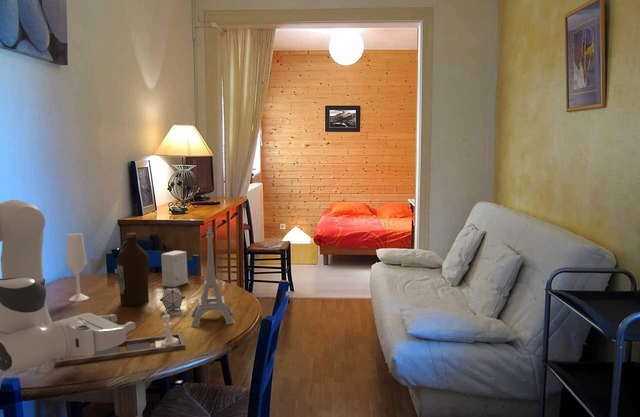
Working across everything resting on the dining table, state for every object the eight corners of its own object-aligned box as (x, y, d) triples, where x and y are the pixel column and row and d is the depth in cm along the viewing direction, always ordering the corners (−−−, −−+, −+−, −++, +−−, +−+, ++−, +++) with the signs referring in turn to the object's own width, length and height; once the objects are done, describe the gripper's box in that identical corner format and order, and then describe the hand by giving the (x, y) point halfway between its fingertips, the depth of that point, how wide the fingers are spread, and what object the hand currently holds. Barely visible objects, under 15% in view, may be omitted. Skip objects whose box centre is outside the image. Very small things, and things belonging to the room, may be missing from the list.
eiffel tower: (191, 314, 174) (188, 224, 171) (231, 311, 177) (229, 223, 174) (190, 327, 161) (187, 231, 158) (234, 324, 164) (231, 229, 161)
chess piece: (177, 338, 150) (172, 305, 148) (180, 344, 145) (175, 309, 144) (159, 343, 148) (154, 309, 146) (162, 348, 143) (157, 313, 142)
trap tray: (55, 366, 133) (55, 362, 133) (59, 351, 142) (59, 348, 142) (185, 348, 144) (185, 344, 144) (181, 336, 153) (181, 333, 153)
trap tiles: (94, 358, 137) (94, 357, 137) (95, 349, 144) (95, 348, 144) (150, 351, 142) (150, 350, 142) (149, 342, 149) (149, 341, 149)
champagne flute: (88, 300, 191) (84, 234, 188) (68, 302, 188) (63, 236, 186) (89, 295, 197) (85, 232, 194) (69, 297, 195) (65, 233, 192)
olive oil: (147, 297, 194) (144, 230, 192) (152, 304, 185) (149, 234, 182) (117, 301, 189) (113, 232, 187) (121, 308, 180) (117, 236, 177)
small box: (176, 281, 217) (175, 250, 216) (188, 282, 214) (187, 251, 213) (162, 285, 210) (160, 253, 209) (174, 287, 207) (172, 255, 206)
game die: (176, 321, 177) (176, 304, 171) (154, 312, 179) (153, 294, 172) (190, 303, 184) (190, 285, 177) (169, 293, 185) (168, 275, 179)
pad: (156, 350, 143) (156, 349, 143) (154, 341, 149) (154, 340, 149) (179, 347, 145) (179, 346, 145) (176, 338, 151) (176, 338, 151)
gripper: (54, 338, 134) (106, 324, 145) (91, 359, 121) (146, 341, 131) (52, 315, 134) (104, 302, 144) (89, 332, 120) (144, 317, 130)
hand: (124, 321), depth 137 cm, fingers open, 8 cm apart
